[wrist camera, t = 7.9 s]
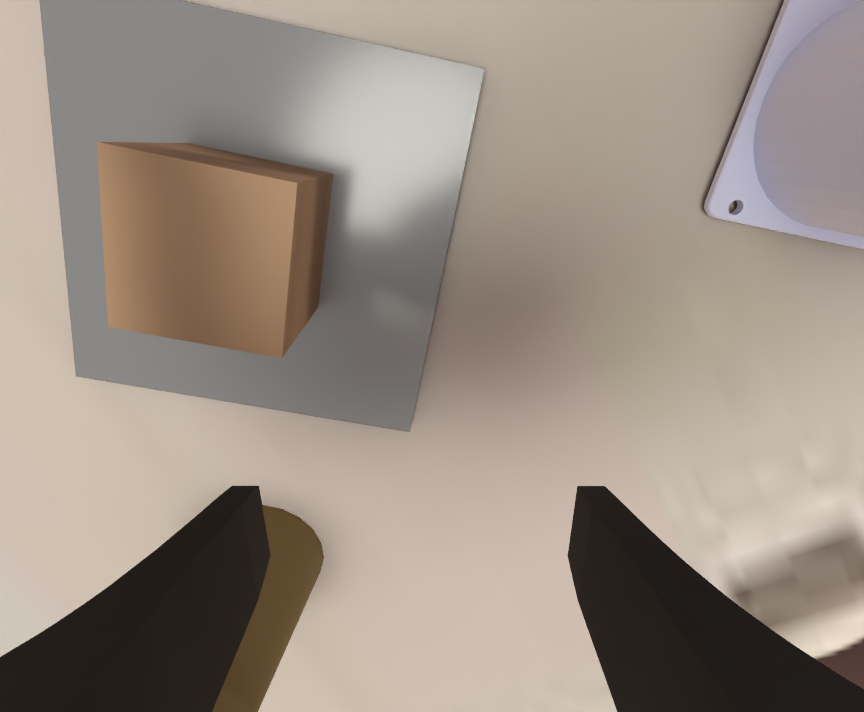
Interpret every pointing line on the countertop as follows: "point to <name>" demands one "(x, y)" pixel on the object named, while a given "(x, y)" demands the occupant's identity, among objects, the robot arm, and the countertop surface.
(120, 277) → the walnut cube
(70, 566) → the countertop surface
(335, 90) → the slate board
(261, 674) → the cork
